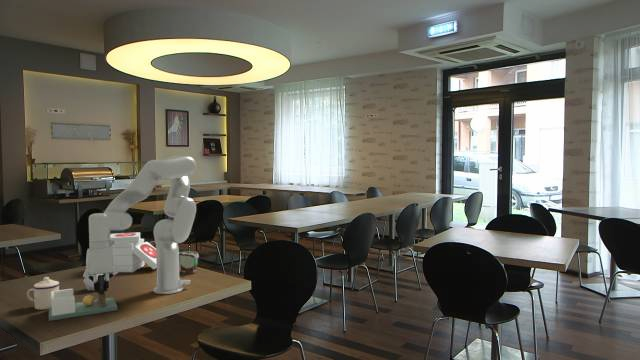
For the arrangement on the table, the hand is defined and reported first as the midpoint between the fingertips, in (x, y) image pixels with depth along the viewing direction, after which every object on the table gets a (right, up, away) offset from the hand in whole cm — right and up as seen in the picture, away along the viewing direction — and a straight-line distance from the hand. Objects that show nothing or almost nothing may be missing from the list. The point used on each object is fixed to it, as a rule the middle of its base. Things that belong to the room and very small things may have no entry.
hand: (101, 290), depth 184 cm
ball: (-4, -3, -2) cm, 6 cm away
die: (-15, -6, +26) cm, 30 cm away
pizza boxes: (-12, -4, +65) cm, 67 cm away
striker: (0, -5, 0) cm, 5 cm away
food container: (+19, -4, +58) cm, 61 cm away
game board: (-6, -7, -3) cm, 9 cm away
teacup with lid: (-24, -7, +2) cm, 25 cm away
